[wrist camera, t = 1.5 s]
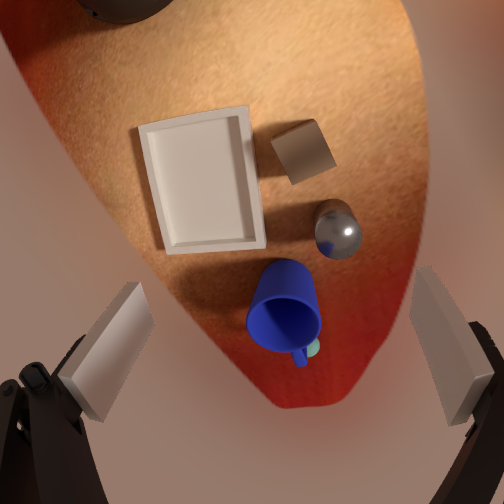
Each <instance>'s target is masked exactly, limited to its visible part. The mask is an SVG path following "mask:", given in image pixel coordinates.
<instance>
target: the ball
mask: <svg viewBox="0 0 504 504" xmlns="http://www.w3.org/2000/svg"><path fill="white" fill-rule="evenodd" d="M319 346H320V345H319V341H318V339H317V338H316V339H315V340H314V341H313V342H312V343H311V344H310V345H308V346H307V357H312V356H314V355H315V354H316V353H317V352H318V350H319Z"/></svg>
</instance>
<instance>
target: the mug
mask: <svg viewBox="0 0 504 504" xmlns="http://www.w3.org/2000/svg"><path fill="white" fill-rule="evenodd" d="M246 327H247V331H248V333H249V335H250V336H251V338H252V339H253V340H254V341H255V342H256V343H257V344H259V345H260V346H262V347H264V348H266V349H268V350H272V351H276V352H291V356H292V358H293V360H294V363H295V365H296V366H297V367H302V366H305V365H307V363H308V359H307V346H308V345H310V344H311V343H312V342H313V341H314V340H315V339H316V338H317V336H318V334H319V332H320V329H321V318H320V313H319V308H318V303H317V298H316V293H315V288H314V283H313V279H312V276H311V274H310V272H309V271H308V269H307V268H306V267H305V266H304V265H303V264H301V263H299V262H297V261H295V260H290V259H283V260H278V261H275V262H273V263H272V264H270V265H269V266H268V267H267V268H266V269H265V270H264V271H263V273H262V275H261V277H260V280H259V283H258V286H257V289H256V291H255V294H254V297H253V300H252V303H251V305H250V308H249V311H248V314H247V317H246Z"/></svg>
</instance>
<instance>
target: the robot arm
mask: <svg viewBox="0 0 504 504" xmlns="http://www.w3.org/2000/svg"><path fill="white" fill-rule="evenodd" d="M77 1H78V2H79V3H80V5H81V6H82V7H83V8H84V9H85V10H86V11H87V12H88V13H89V14H90V15H91V16H93V17H94V18H96V19H99V20H101V21H105V22H108V23H112V24H130V23H134V22H138V21H141V20H144V19H146V18H148V17H150V16H152V15H154V14H156V13H157V12H159V11H160V10H162V9H163V8H165V7H166V6H167V5H168V4H169V3H171V2H172V1H173V0H77ZM409 316H410V319H411V321H412V324H413V326H414V328H415V331H416V334H417V336H418V338H419V341H420V344H421V346H422V349H423V351H424V354H425V357H426V359H427V362H428V365H429V368H430V370H431V373H432V376H433V379H434V382H435V385H436V388H437V391H438V394H439V397H440V400H441V403H442V406H443V409H444V413H445V416H446V419H447V423H448V426H453V425H458V424H462V423H465V422H467V420H468V419H469V417H470V415H471V414H473V417H474V420H475V422H474V423H473V425H472V426H471V428H470V429H469V431H468V432H467V434H466V435H465V436H466V440H465V442H464V444H463V446H462V448H461V450H460V452H459V454H458V456H457V457H456V459H455V461H454V463H453V465H452V467H451V468H450V471H449V472H448V474H447V476H446V477H445V479H444V481H443V483H442V484H441V486H440V487H439V489H438V491H437V492H436V494H435V496H434V497H433V498H432V500H431V502H430V503H429V504H490V502H491V500H492V498H493V495H494V493H495V491H496V489H497V487H498V484H499V482H500V480H501V477H502V475H503V472H504V359H503V357H502V356H501V354H500V352H499V350H498V348H497V347H495V343H494V342H493V340H491V337H490V335H489V333H488V331H487V330H486V328H484V327H483V326H482V325H481V324H480V323H478V322H477V321H475V322H470V323H468V322H467V321H466V319H465V317H464V316H463V314H462V312H461V311H460V309H459V307H458V306H457V304H456V303H455V301H454V299H453V298H452V296H451V295H450V293H449V291H448V290H447V288H446V287H445V285H444V284H443V282H442V281H441V279H440V278H439V276H438V275H437V273H436V272H435V270H434V269H433V267H432V266H424V267H417V269H416V277H415V285H414V291H413V297H412V303H411V309H410V315H409ZM154 327H155V322H154V320H153V317H152V314H151V311H150V309H149V306H148V303H147V300H146V298H145V295H144V292H143V289H142V286H141V283H140V282H127V284H126V285H125V286H124V287H123V289H122V290H121V291H120V292H119V294H118V295H117V296H116V297H115V298H114V300H113V301H112V302H111V304H110V305H109V306H108V307H107V309H106V310H105V311H104V312H103V314H102V315H101V316H100V318H99V319H98V320H97V321H96V323H95V324H94V326H93V327H92V328H91V329H90V331H89V332H88V333H87V335H83V336H82V337H81V338H79V339H78V340H77V341H76V342H75V343H74V345H73V346H72V347H71V350H69V351H68V353H67V354H66V356H65V357H64V358H63V360H62V361H61V362H60V364H59V365H58V367H57V368H56V369H55V371H54V372H53V373H52V375H51V376H50V375H49V373H48V371H47V370H46V368H45V367H44V365H43V364H42V363H40V362H33V363H30V364H28V365H26V366H25V367H24V368H23V369H22V371H21V372H20V374H19V379H20V380H21V382H22V383H23V384H24V386H25V387H21V386H20V385H19V384H18V382H17V381H16V380H14V379H10V380H7V381H5V382H3V383H2V384H1V385H0V504H109V503H108V501H107V498H106V495H105V493H104V490H103V487H102V484H101V481H100V478H99V475H98V472H97V470H96V466H95V463H94V460H93V456H92V453H91V450H90V446H89V442H88V439H87V435H86V431H85V427H84V422H83V420H82V418H81V417H80V415H81V413H82V411H84V413H85V414H86V415H87V416H88V417H89V419H92V420H95V421H99V422H104V420H105V418H106V416H107V414H108V412H109V410H110V408H111V406H112V405H113V403H114V401H115V399H116V397H117V395H118V393H119V391H120V389H121V388H122V386H123V384H124V382H125V380H126V378H127V376H128V374H129V373H130V371H131V369H132V367H133V365H134V363H135V362H136V360H137V358H138V356H139V354H140V352H141V351H142V349H143V347H144V345H145V343H146V342H147V340H148V338H149V336H150V334H151V333H152V331H153V329H154ZM17 422H19V423H20V425H21V426H22V427H21V430H19V429H18V428H17ZM503 504H504V502H503Z"/></svg>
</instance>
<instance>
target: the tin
mask: <svg viewBox="0 0 504 504" xmlns="http://www.w3.org/2000/svg"><path fill="white" fill-rule="evenodd" d="M313 222H314V230H315V238H316V244H317V247H318V249H319V251H320V252H321V253H322V254H323V255H325V256H326V257H328V258H331V259H336V260H340V259H345V258H348V257H350V256H352V255H353V254H354V253H355V252H356V251H357V250H358V249H359V247H360V245H361V242H362V232H361V229H360V227H359V225H358V222H357V220H356V218H355V216H354V214H353V212H352V210H351V208H350V207H349V205H348V204H347V203H345V202H344V201H342V200H339V199H328V200H325V201H323V202H322V203H320V204H319V205H318V206H317V208H316V209H315V211H314V215H313Z"/></svg>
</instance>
